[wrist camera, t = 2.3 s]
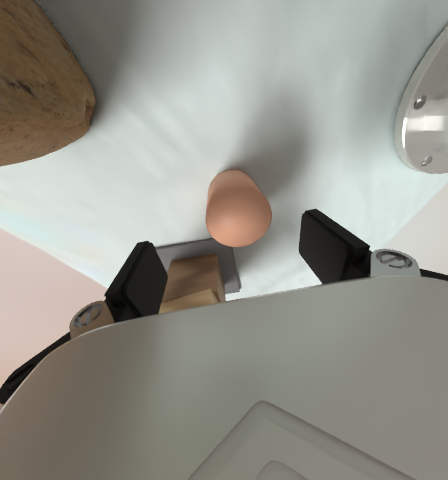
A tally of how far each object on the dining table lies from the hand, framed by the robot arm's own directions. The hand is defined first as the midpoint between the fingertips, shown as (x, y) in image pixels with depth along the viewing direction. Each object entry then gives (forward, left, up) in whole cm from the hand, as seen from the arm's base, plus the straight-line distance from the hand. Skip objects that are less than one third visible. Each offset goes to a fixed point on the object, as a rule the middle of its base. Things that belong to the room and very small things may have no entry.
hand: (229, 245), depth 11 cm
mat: (+5, +10, -9) cm, 14 cm away
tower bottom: (+5, +10, -8) cm, 14 cm away
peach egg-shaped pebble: (-1, 0, -9) cm, 9 cm away
